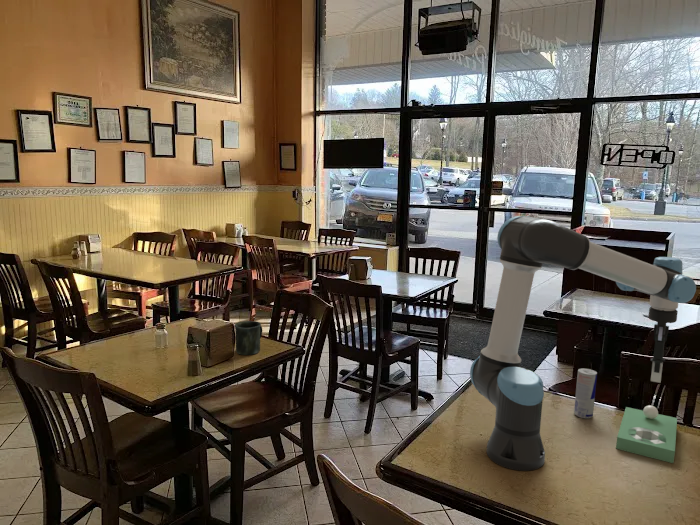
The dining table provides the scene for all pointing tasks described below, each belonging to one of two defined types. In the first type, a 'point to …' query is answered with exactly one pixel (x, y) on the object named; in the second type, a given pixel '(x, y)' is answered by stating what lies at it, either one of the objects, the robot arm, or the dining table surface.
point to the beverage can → (585, 393)
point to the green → (647, 435)
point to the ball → (650, 412)
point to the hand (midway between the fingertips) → (655, 381)
